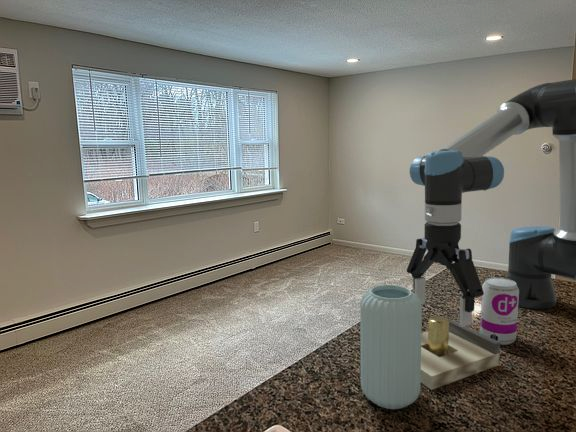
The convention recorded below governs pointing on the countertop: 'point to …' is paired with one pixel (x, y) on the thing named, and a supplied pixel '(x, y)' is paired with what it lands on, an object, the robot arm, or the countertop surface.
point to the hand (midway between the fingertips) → (441, 313)
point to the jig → (458, 356)
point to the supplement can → (499, 310)
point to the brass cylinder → (438, 335)
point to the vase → (390, 346)
